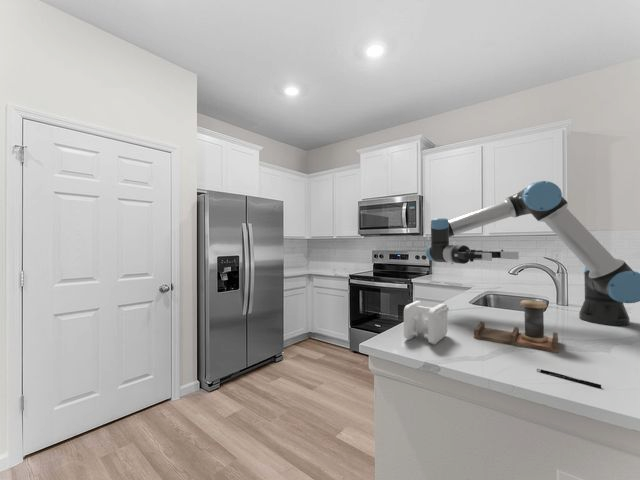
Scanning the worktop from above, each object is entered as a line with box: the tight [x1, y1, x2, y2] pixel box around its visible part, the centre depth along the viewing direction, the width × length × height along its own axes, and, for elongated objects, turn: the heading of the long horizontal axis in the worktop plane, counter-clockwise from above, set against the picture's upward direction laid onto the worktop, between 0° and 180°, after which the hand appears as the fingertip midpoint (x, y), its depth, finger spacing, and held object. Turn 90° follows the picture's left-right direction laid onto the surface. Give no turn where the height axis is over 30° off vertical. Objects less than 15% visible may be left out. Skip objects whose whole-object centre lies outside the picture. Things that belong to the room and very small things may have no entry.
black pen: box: [536, 368, 602, 390], centre depth 74 cm, size 12×1×1 cm, turn 41°
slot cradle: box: [473, 321, 559, 354], centre depth 102 cm, size 23×12×3 cm, turn 52°
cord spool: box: [520, 299, 548, 343], centre depth 99 cm, size 7×7×12 cm
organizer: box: [403, 300, 450, 345], centre depth 104 cm, size 15×11×12 cm
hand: (504, 256), depth 108 cm, fingers open, 13 cm apart
